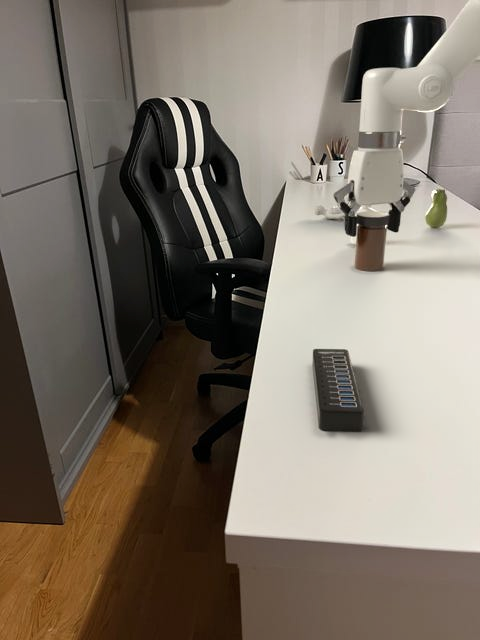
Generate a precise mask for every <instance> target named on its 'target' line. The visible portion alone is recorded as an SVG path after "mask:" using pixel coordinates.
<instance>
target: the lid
mask: <svg viewBox="0 0 480 640" xmlns="http://www.w3.org/2000/svg"><path fill="white" fill-rule="evenodd" d="M388 213H389V212H386V211H385V212H384V211H377V210H375V211H364V212H359V213H357V224H359V225H362V226H370V227H378V226H387V225H388V224H389V214H388Z"/></svg>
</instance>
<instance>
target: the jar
mask: <svg viewBox="0 0 480 640" xmlns="http://www.w3.org/2000/svg"><path fill="white" fill-rule="evenodd" d="M387 231H388V229H387V225H386V226H378V227H370V226H362V225H357V235H356V245H355V251H354V264H353V267H354V268H355V269H356V270H358V271H363V272H379V271H382V270H383V269H384V265H385V254H386V252H385V251H386V245H387V244H386V242H387V233H388V232H387Z"/></svg>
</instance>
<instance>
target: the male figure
mask: <svg viewBox="0 0 480 640" xmlns="http://www.w3.org/2000/svg"><path fill="white" fill-rule="evenodd" d="M359 209H360V208H359ZM389 210H392V208H390V209H389ZM313 213H314V214H315V215H316V216H320V215H321V216H325V217H326V219H327V220H338V219H342V218H343V219H345V214H344V213H343V211H342V210H341V209H340V208H339V207H338V206H330V207H329V208H328V209H326V208H325V206H322V205H316V206H315V207H314V209H313Z"/></svg>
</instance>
